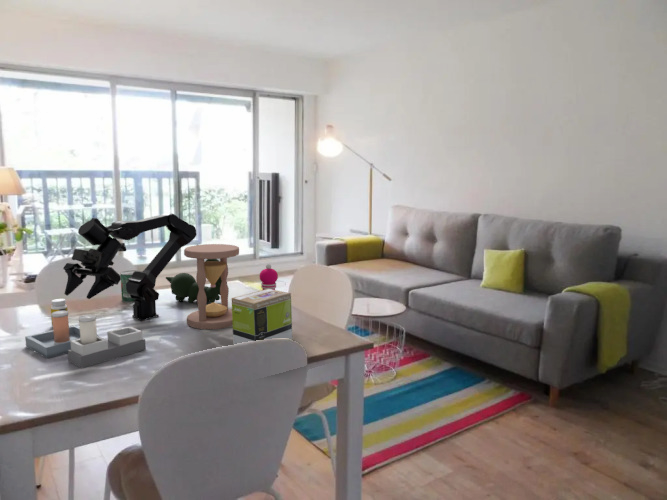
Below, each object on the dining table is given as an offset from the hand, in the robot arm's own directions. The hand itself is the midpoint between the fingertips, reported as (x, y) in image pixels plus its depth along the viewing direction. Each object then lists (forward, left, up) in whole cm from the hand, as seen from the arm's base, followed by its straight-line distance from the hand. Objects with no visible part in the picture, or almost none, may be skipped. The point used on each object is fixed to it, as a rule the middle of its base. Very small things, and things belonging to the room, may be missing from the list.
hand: (76, 296), depth 152 cm
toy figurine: (-47, -7, -13) cm, 50 cm away
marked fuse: (+7, +4, -12) cm, 14 cm away
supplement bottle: (-1, -16, -13) cm, 21 cm away
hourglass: (-36, +18, -13) cm, 42 cm away
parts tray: (+7, +4, -13) cm, 15 cm away
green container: (-33, -28, -13) cm, 46 cm away
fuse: (+7, +21, -10) cm, 24 cm away
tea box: (-32, +46, -13) cm, 57 cm away
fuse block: (+2, +21, -13) cm, 25 cm away
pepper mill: (-47, +33, -13) cm, 59 cm away
